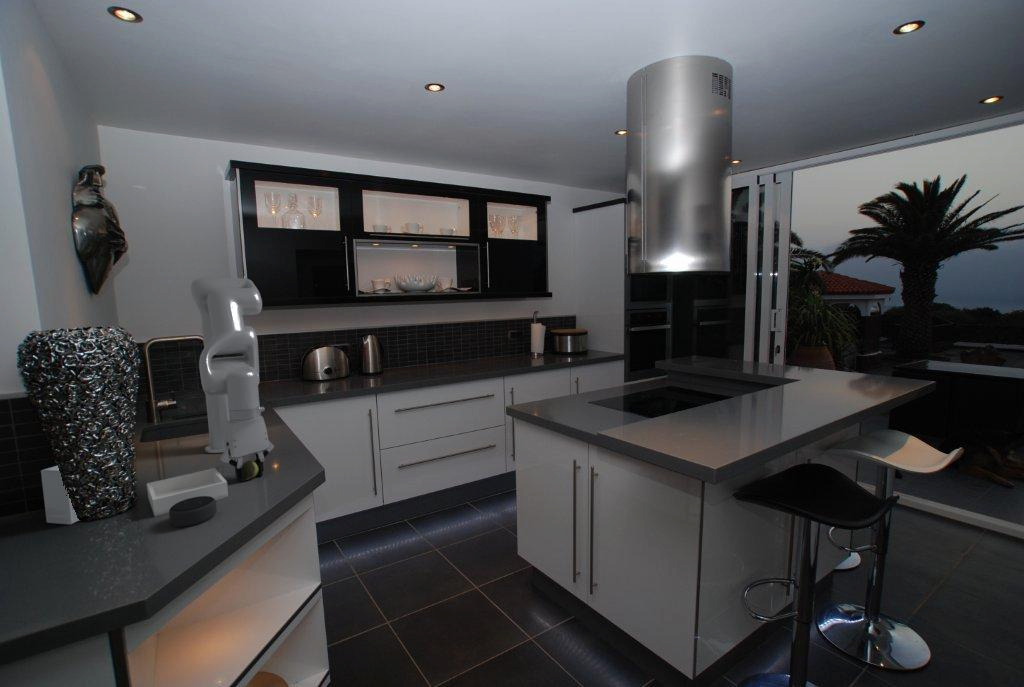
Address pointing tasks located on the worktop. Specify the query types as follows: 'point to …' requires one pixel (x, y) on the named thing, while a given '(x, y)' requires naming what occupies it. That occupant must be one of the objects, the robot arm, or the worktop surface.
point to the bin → (185, 489)
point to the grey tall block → (56, 498)
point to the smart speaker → (192, 511)
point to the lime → (250, 469)
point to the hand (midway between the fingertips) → (250, 477)
